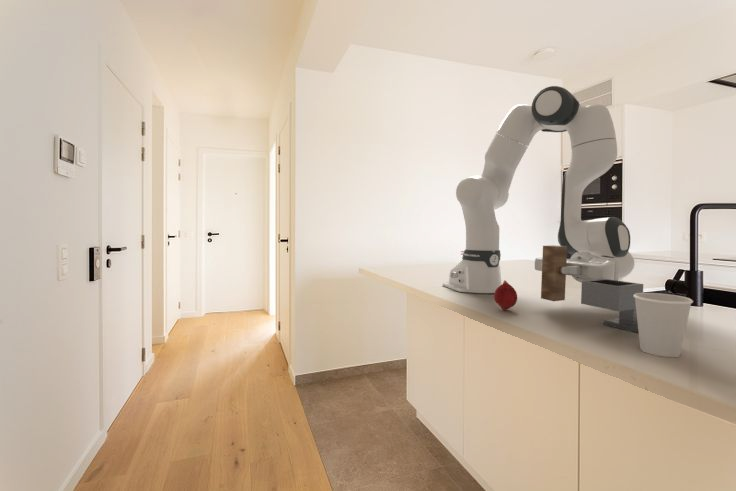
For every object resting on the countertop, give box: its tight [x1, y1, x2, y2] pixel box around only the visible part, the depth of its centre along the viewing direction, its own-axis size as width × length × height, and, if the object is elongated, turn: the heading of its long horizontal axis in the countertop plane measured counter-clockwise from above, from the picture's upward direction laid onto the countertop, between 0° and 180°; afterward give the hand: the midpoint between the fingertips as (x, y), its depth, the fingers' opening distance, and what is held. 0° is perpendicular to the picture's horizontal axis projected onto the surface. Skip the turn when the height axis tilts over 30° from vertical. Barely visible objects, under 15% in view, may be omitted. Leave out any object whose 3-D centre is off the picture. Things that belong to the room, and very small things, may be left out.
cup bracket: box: [580, 279, 644, 334], centre depth 81 cm, size 8×14×10 cm, turn 115°
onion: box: [493, 279, 518, 311], centre depth 99 cm, size 6×6×8 cm
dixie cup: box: [633, 292, 694, 358], centre depth 66 cm, size 8×8×10 cm
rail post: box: [540, 244, 568, 302], centre depth 96 cm, size 4×4×14 cm
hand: (551, 268), depth 96 cm, fingers closed on rail post, 4 cm apart
